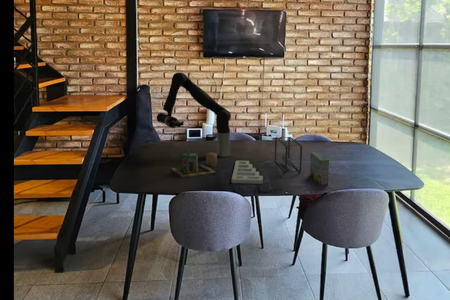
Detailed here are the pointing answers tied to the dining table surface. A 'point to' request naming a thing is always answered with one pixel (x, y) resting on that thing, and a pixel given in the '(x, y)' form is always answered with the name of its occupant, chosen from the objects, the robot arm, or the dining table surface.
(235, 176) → the holder
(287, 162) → the newton's cradle
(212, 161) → the wooden block
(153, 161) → the dining table surface
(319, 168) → the snack box
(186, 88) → the robot arm
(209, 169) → the tan flat bent strip
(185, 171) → the chalk box
